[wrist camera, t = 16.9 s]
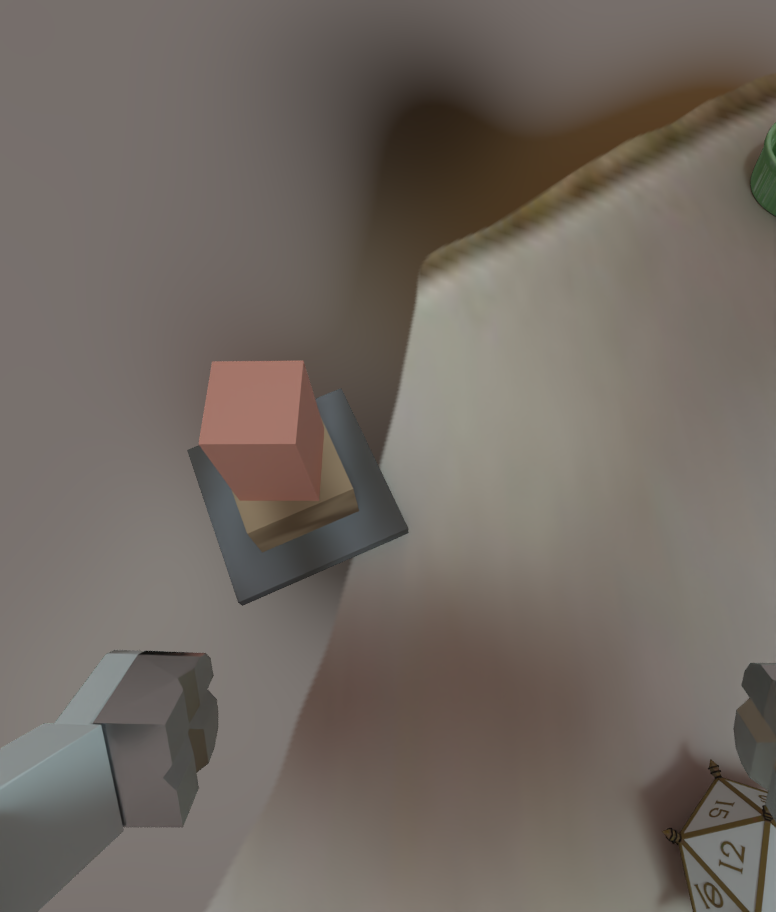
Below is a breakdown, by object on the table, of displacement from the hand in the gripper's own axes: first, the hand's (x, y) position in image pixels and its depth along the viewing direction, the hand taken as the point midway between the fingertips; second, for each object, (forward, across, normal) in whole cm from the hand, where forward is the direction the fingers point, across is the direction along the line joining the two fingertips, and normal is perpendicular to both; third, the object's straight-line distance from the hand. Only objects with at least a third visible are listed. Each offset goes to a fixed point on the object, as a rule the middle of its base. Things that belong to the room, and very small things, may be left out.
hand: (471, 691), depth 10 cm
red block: (+30, +10, +8) cm, 32 cm away
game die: (+18, -16, +26) cm, 36 cm away
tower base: (+33, +10, +11) cm, 36 cm away
